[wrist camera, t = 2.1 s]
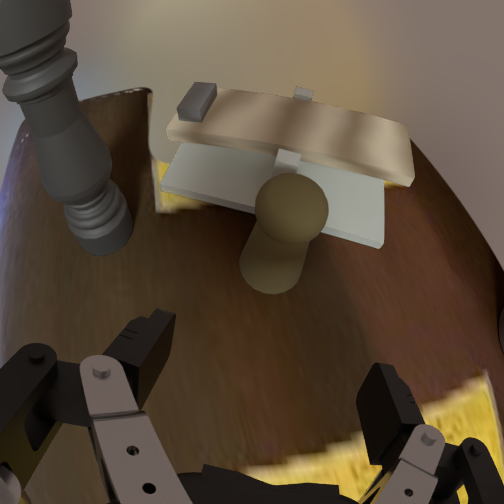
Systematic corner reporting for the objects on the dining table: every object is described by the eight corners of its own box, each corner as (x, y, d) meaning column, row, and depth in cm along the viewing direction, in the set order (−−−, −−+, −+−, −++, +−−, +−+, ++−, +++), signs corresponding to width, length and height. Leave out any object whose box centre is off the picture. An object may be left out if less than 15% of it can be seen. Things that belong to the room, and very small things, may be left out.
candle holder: (131, 198, 32) (80, -40, 10) (136, 249, 30) (55, -19, 8) (78, 210, 31) (-8, -7, 9) (77, 261, 29) (-52, 31, 6)
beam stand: (378, 159, 39) (402, 118, 33) (379, 248, 33) (413, 209, 26) (203, 112, 40) (204, 64, 33) (161, 191, 33) (152, 139, 26)
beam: (400, 140, 32) (411, 114, 29) (406, 192, 29) (421, 165, 25) (196, 101, 35) (193, 74, 31) (169, 146, 31) (162, 116, 28)
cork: (246, 229, 32) (261, 151, 22) (305, 244, 32) (342, 172, 22) (232, 285, 29) (242, 219, 20) (296, 300, 29) (337, 243, 20)
